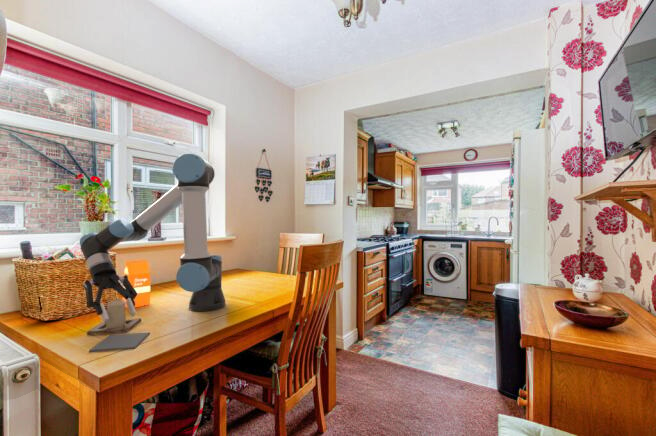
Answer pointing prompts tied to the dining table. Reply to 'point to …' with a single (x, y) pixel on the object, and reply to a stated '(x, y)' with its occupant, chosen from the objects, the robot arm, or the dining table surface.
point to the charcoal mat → (120, 342)
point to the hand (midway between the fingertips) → (120, 317)
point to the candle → (116, 314)
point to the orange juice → (139, 281)
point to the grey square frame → (127, 328)
